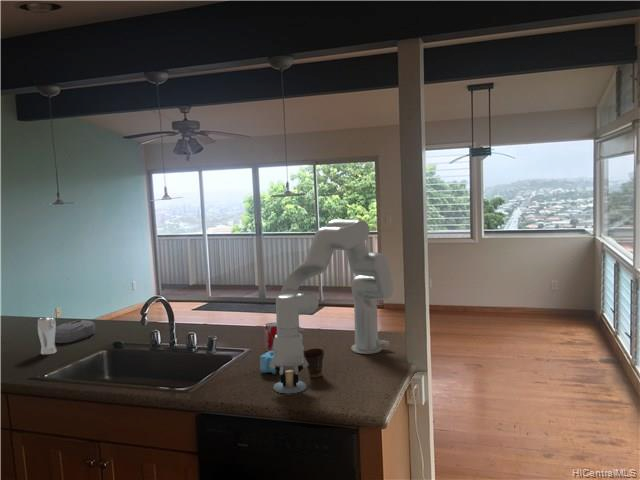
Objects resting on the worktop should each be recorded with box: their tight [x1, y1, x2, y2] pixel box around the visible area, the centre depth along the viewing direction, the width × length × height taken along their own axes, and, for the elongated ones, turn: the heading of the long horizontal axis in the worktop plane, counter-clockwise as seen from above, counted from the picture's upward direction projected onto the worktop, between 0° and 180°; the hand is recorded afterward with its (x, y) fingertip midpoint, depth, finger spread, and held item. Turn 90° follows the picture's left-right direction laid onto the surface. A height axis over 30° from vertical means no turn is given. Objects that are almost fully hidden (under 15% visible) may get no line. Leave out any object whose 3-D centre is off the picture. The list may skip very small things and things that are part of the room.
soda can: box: [263, 322, 277, 353], centre depth 209 cm, size 7×7×12 cm
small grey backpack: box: [55, 319, 96, 344], centre depth 239 cm, size 15×8×20 cm
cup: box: [304, 348, 325, 379], centre depth 179 cm, size 8×8×9 cm
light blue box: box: [259, 351, 280, 375], centre depth 187 cm, size 12×6×8 cm, turn 156°
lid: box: [273, 369, 307, 394], centre depth 169 cm, size 11×11×6 cm
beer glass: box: [37, 316, 58, 356], centre depth 216 cm, size 7×7×15 cm
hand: (289, 384), depth 169 cm, fingers closed on lid, 3 cm apart
